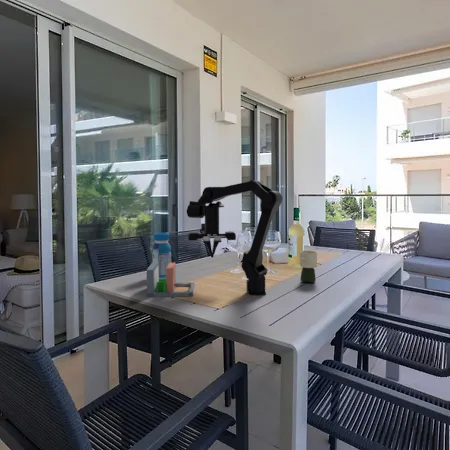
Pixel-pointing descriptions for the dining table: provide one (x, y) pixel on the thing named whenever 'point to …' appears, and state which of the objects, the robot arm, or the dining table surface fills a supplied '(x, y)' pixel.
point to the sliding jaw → (173, 278)
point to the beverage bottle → (161, 252)
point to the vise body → (154, 278)
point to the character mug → (308, 265)
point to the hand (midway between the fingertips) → (212, 257)
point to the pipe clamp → (161, 286)
